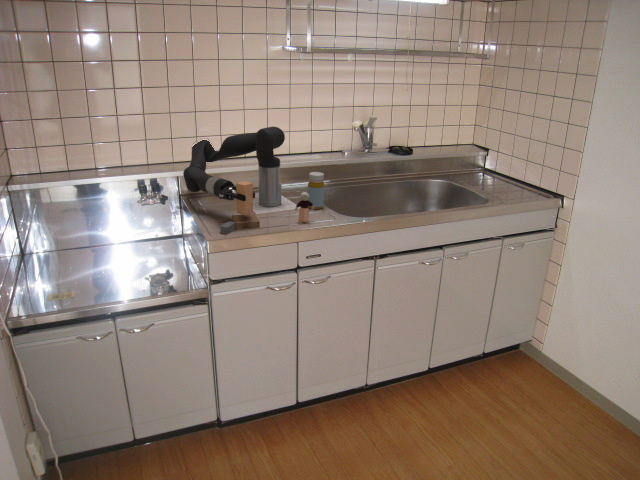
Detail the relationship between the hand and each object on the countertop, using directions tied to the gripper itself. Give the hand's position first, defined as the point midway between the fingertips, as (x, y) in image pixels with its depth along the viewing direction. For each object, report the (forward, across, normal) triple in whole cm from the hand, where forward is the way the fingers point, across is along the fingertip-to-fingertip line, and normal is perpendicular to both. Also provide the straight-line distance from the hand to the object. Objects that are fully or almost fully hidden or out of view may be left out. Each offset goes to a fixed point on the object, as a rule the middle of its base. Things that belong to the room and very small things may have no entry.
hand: (249, 197), depth 198 cm
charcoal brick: (-2, +9, -12) cm, 15 cm away
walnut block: (-3, 0, -12) cm, 13 cm away
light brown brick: (-3, 0, -7) cm, 8 cm away
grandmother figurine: (+12, -18, -12) cm, 25 cm away
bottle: (+4, -36, -12) cm, 38 cm away
